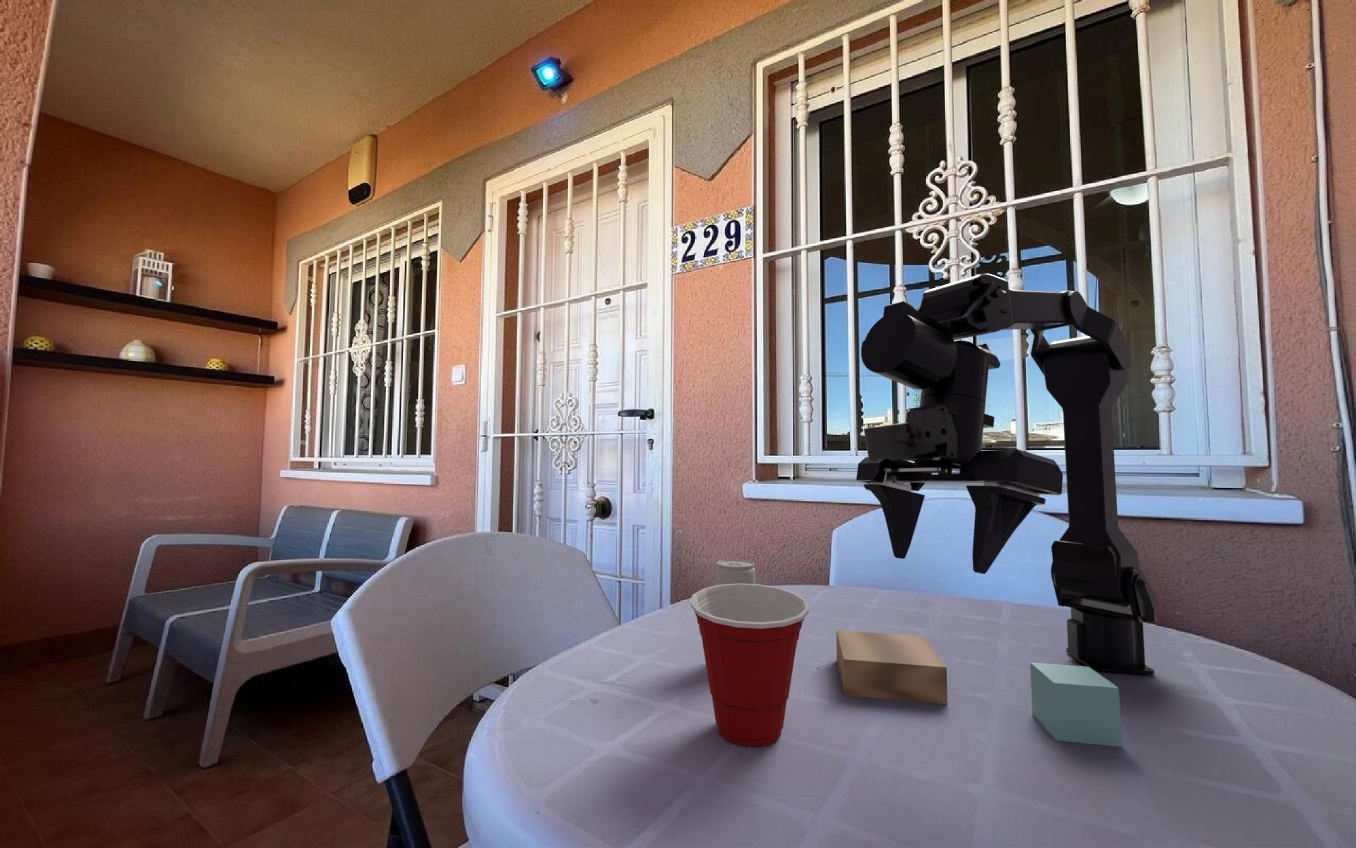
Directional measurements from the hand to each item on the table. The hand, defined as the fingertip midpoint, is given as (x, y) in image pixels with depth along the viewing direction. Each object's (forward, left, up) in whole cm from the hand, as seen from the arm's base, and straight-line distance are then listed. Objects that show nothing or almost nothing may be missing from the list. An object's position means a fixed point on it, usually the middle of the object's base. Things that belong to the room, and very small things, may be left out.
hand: (935, 565), depth 50 cm
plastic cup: (+17, +4, -15) cm, 23 cm away
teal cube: (-12, -3, -15) cm, 19 cm away
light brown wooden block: (+3, -11, -15) cm, 19 cm away
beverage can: (+20, -12, -15) cm, 28 cm away
